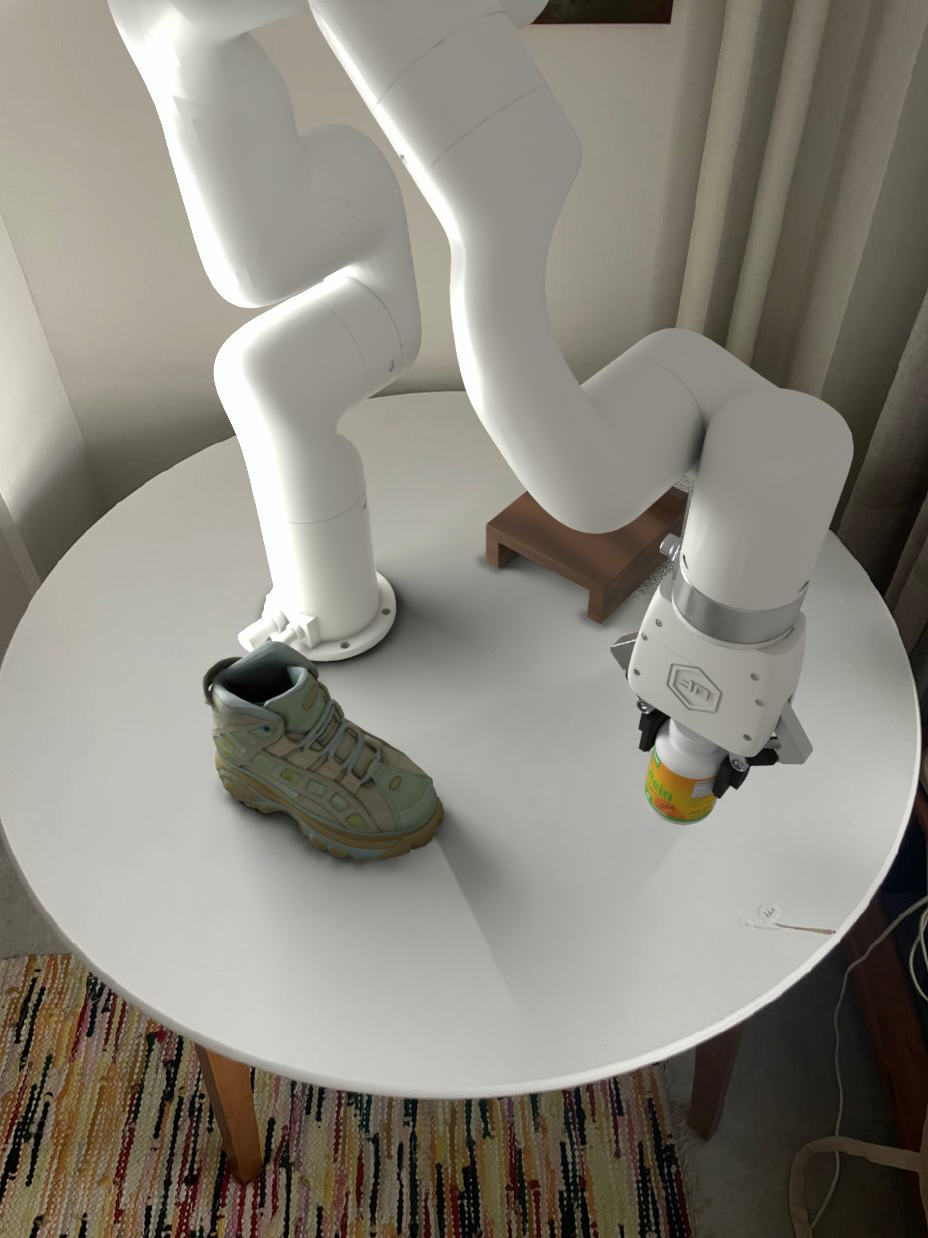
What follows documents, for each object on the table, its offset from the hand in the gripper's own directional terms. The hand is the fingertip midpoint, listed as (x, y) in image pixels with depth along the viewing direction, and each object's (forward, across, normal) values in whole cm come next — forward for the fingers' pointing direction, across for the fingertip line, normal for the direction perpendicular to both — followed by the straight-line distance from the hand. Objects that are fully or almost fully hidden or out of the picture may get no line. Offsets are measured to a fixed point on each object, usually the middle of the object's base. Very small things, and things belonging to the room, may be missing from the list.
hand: (689, 759), depth 74 cm
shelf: (+10, -24, +22) cm, 34 cm away
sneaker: (+11, -23, -15) cm, 29 cm away
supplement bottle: (+5, 0, 0) cm, 5 cm away
